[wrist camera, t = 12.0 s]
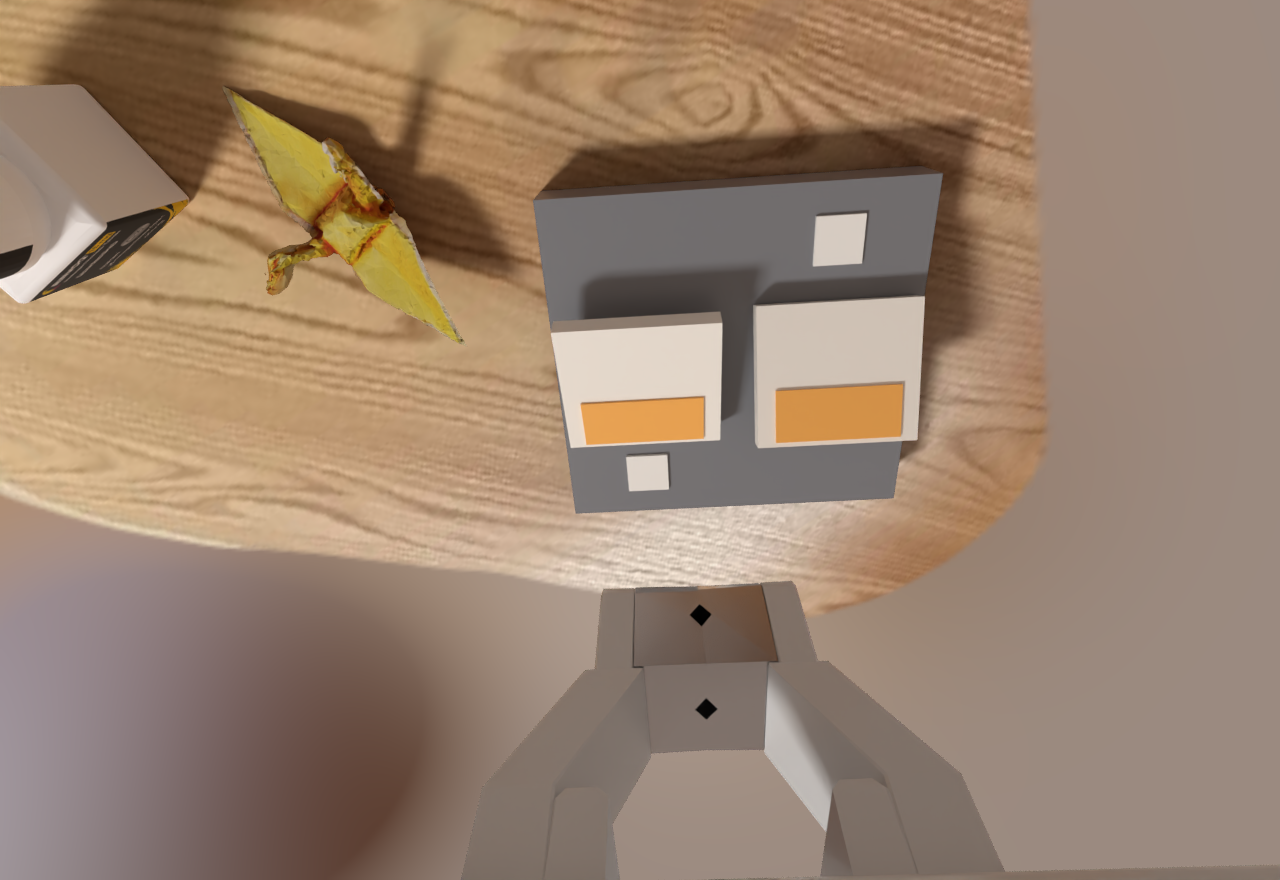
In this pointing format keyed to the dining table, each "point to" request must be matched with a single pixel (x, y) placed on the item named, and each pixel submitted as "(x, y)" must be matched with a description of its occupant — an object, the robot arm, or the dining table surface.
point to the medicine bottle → (72, 191)
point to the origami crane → (338, 216)
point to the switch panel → (733, 312)
